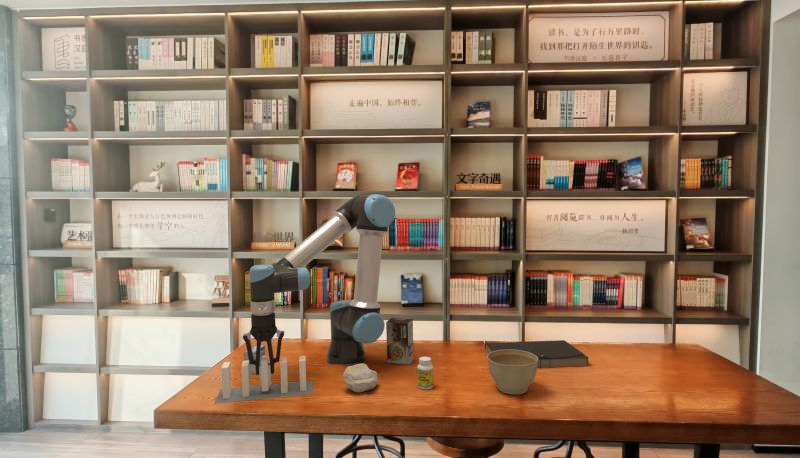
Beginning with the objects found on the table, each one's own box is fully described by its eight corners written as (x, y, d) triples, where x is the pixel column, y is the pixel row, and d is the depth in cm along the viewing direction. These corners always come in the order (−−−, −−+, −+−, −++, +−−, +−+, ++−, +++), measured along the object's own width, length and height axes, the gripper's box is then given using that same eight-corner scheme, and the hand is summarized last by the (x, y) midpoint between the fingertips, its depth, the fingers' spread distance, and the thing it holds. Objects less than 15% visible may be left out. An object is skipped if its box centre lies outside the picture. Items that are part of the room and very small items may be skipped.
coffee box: (414, 359, 185) (413, 318, 183) (409, 365, 179) (408, 323, 177) (392, 357, 188) (391, 317, 186) (386, 362, 182) (385, 321, 180)
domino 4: (287, 386, 159) (287, 357, 159) (287, 392, 154) (286, 362, 153) (281, 386, 159) (280, 357, 158) (281, 393, 154) (280, 363, 153)
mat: (311, 381, 164) (311, 380, 164) (312, 394, 153) (312, 393, 153) (220, 390, 158) (220, 389, 157) (214, 404, 147) (214, 403, 147)
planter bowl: (535, 381, 161) (536, 350, 161) (539, 401, 146) (540, 367, 145) (487, 378, 165) (487, 347, 164) (486, 397, 149) (486, 364, 148)
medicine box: (255, 375, 170) (254, 352, 170) (244, 374, 171) (243, 351, 171) (266, 367, 178) (265, 345, 178) (255, 367, 179) (254, 344, 178)
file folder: (501, 360, 172) (484, 340, 196) (501, 371, 173) (484, 350, 197) (589, 356, 175) (562, 338, 199) (589, 367, 175) (562, 347, 199)
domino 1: (231, 391, 155) (230, 361, 155) (229, 398, 150) (228, 367, 150) (225, 392, 155) (224, 362, 154) (222, 398, 150) (221, 368, 149)
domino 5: (306, 384, 161) (305, 355, 160) (306, 390, 155) (305, 360, 155) (300, 385, 160) (299, 356, 159) (300, 391, 155) (299, 361, 154)
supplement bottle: (435, 384, 160) (435, 356, 159) (431, 390, 155) (431, 362, 154) (419, 382, 162) (419, 355, 161) (415, 388, 157) (415, 360, 156)
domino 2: (250, 389, 157) (249, 360, 156) (249, 396, 152) (247, 365, 151) (244, 390, 156) (243, 360, 156) (242, 396, 151) (241, 366, 151)
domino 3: (269, 384, 158) (268, 355, 157) (268, 390, 153) (267, 360, 152) (263, 385, 158) (262, 355, 157) (262, 391, 152) (260, 361, 152)
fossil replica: (384, 386, 159) (359, 383, 164) (383, 361, 160) (358, 359, 164) (365, 397, 149) (339, 394, 154) (364, 370, 149) (338, 368, 154)
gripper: (237, 317, 148) (240, 390, 150) (286, 314, 151) (289, 385, 153) (240, 311, 156) (242, 381, 157) (287, 308, 159) (289, 377, 160)
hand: (265, 383), depth 155 cm, fingers closed on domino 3, 2 cm apart
